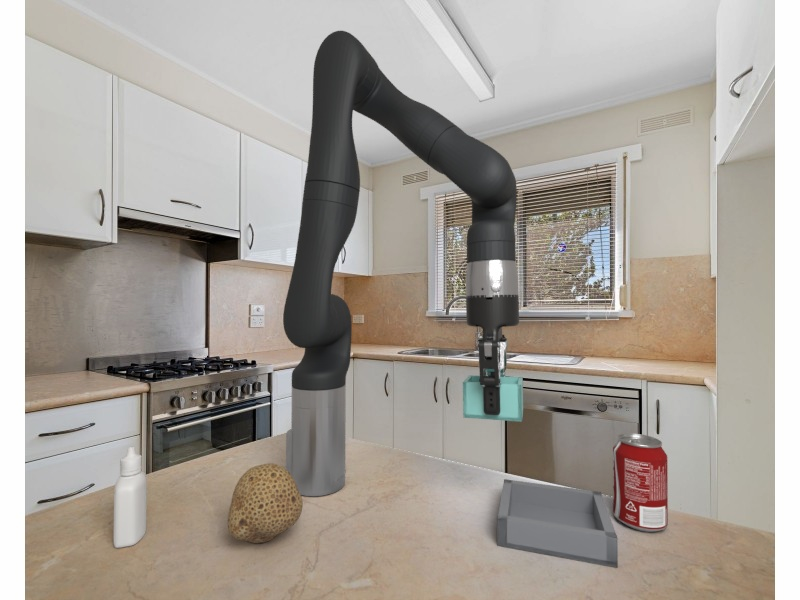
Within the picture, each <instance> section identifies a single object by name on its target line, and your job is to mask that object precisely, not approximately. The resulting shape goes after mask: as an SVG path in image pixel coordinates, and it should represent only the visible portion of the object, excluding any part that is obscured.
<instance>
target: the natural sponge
mask: <svg viewBox="0 0 800 600" xmlns="http://www.w3.org/2000/svg"><path fill="white" fill-rule="evenodd" d="M234 487H235V488H234V490H233V494H232V496H231V497H232V498H231V500H230V501H231V502H230V505H229V510H228V515H227V529H228V532H229V534H230V536H231V537H233V538H234V539H236V540H239V541H246V542H249V543H254V544H262V543H263V544H264V543H266V542H270V541H271V540H273V539H274V538H275V537H276V536H277V535H279V534H281V533H283V532H285V531H286V530H288V529H290V528H291V527H292V526H293V525H294V524H295V523H297V521H298V520H299V519H300V516H301V514H302V512H303V498H302V495H300V493H299V490H298V488H297V485H296V483H295V480H294V479H293V477H292V475H291V474H290V473H289V472H288V471H287V470H286V468H284V467H283V466H281V465H279V464H277V463H273V462H270V463H264V464H260V465H259V464H258V465H255V466H252V467H250V468H249V469H247V470H246V471H245V472H244V473H243V475H241V476H240V477H239V479H238V481H237V483H236V484H235V486H234Z"/></svg>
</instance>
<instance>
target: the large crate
mask: <svg viewBox="0 0 800 600" xmlns="http://www.w3.org/2000/svg"><path fill="white" fill-rule="evenodd" d="M618 540H619V538H618V535H617V533H616V530H615V527H614V524H613V522H612V519H611V516H610V513H609V511H608V508H607V505H606V502H605V500H604V497H603V494H602V491H596V490H588V489H580V488H575V487H574V488H572V487H565V486H559V485H551V484H542V483H537V482H536V483H535V482H527V481H523V480H522V481H521V480H514V479H513V480H512V479H507V478H504V479H503V484H502V490H501V496H500V502H499V507H498V513H497V547H503V548H509V549H514V550H518V551H519V550H520V551H524V552H530V553H535V554H540V555H547V556H553V557H557V558H562V559H567V560H568V559H569V560H574V561H578V562H583V563H588V564H594V565H601V566H604V567H605V566H606V567H611V568H616V569H617V568H618V567H619V566H618V565H619V564H618V560H619V559H618V557H619V554H618V551H619V550H618V548H619V547H618V545H619V544H618V543H619V541H618Z"/></svg>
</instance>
